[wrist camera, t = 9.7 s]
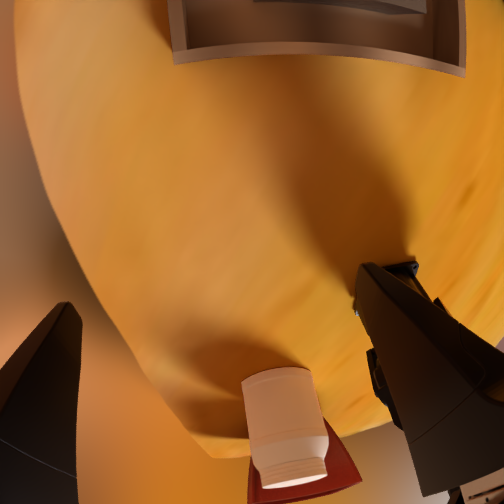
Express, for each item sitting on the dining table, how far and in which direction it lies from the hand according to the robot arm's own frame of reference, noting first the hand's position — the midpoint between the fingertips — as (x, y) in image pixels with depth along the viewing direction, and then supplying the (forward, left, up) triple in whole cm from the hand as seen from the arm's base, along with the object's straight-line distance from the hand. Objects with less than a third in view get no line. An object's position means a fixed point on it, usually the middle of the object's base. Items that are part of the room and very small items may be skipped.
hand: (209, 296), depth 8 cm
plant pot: (-6, +56, -13) cm, 58 cm away
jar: (-4, +34, -13) cm, 37 cm away
